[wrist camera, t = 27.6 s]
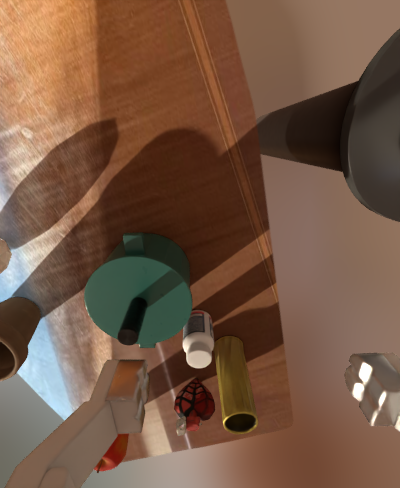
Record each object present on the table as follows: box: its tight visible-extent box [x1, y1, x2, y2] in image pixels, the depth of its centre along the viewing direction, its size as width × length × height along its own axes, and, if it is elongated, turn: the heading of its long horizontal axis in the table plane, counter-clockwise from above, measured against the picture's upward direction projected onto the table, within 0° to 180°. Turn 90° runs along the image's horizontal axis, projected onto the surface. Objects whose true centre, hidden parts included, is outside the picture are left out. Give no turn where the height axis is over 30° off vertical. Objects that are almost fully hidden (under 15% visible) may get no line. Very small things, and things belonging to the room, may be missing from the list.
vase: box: [213, 336, 258, 434], centre depth 42 cm, size 6×6×14 cm
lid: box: [84, 255, 192, 345], centre depth 30 cm, size 15×15×7 cm
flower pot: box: [0, 297, 41, 381], centre depth 39 cm, size 12×11×10 cm
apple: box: [94, 433, 129, 473], centre depth 50 cm, size 9×8×12 cm
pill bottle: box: [183, 310, 214, 368], centre depth 41 cm, size 5×5×9 cm
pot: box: [103, 233, 190, 348], centre depth 37 cm, size 14×19×8 cm
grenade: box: [174, 378, 215, 436], centre depth 48 cm, size 5×8×10 cm, turn 97°
